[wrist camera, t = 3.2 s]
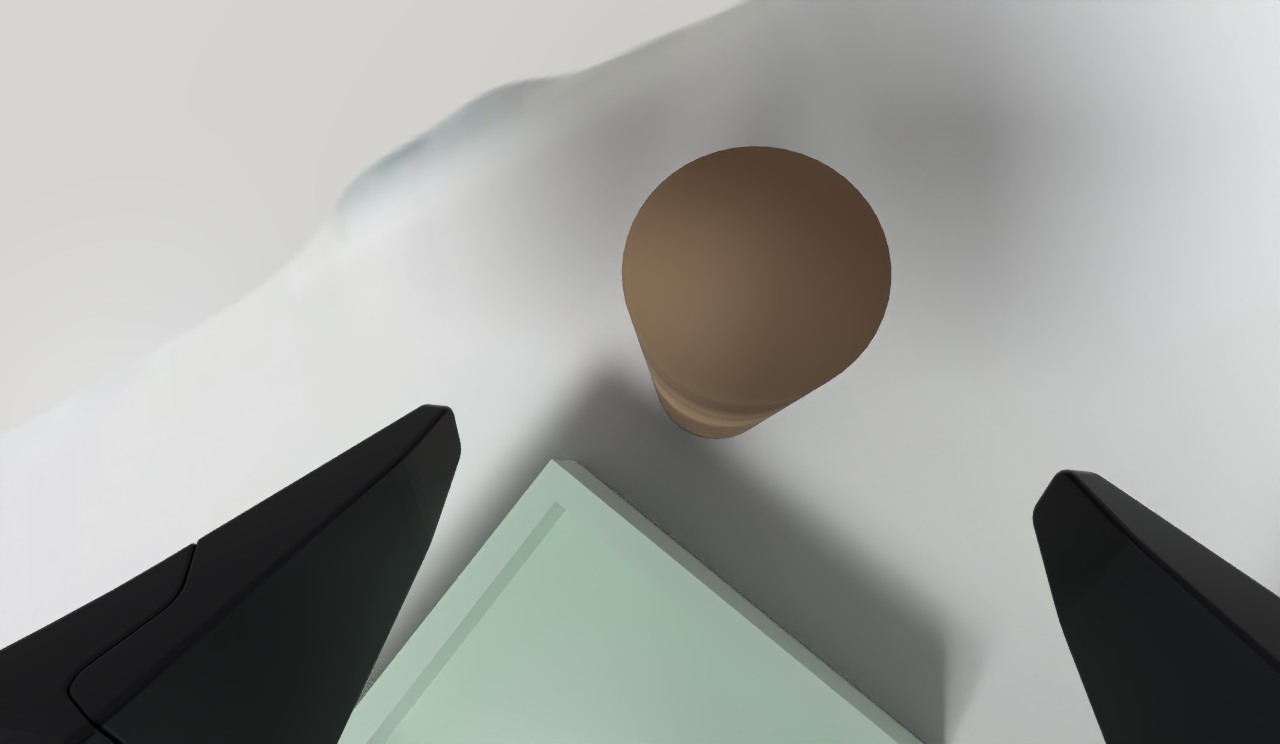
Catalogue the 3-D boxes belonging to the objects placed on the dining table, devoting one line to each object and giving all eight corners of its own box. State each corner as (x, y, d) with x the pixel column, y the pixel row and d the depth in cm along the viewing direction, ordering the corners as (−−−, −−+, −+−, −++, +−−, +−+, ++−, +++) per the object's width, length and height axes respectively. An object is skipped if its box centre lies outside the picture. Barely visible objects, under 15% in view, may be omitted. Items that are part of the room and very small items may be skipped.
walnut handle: (728, 463, 18) (785, 456, 8) (631, 389, 19) (569, 294, 9) (800, 367, 19) (945, 241, 8) (703, 297, 19) (726, 101, 9)
